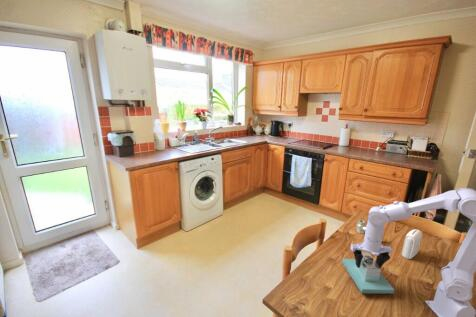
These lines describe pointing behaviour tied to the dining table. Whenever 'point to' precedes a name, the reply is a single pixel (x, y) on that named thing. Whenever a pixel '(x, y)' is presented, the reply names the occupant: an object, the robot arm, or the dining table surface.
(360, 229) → the valve
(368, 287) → the teal flat slab
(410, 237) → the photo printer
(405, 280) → the dining table surface
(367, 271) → the housing
